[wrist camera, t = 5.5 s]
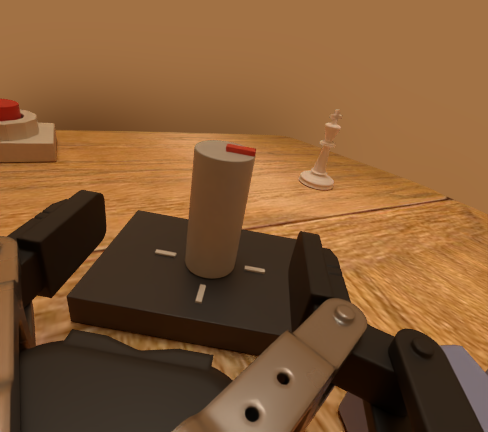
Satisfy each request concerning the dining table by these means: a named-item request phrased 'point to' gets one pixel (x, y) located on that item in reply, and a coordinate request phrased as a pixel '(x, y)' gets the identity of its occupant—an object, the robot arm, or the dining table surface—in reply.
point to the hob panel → (187, 288)
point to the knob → (217, 206)
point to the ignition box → (27, 140)
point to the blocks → (468, 373)
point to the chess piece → (323, 158)
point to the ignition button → (9, 110)
